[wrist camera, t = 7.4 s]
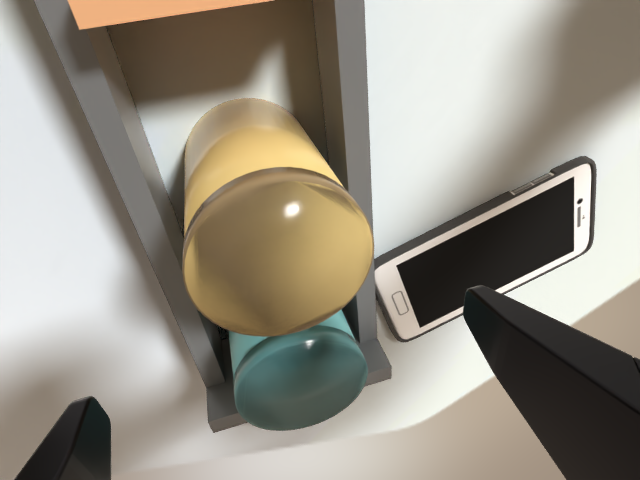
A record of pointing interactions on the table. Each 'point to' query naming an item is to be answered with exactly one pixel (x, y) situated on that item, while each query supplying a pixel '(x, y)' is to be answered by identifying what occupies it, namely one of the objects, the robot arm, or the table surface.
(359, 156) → the lane
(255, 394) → the jar
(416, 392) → the table surface
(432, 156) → the table surface
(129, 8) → the pusher
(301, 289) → the ochre jar
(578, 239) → the cell phone
